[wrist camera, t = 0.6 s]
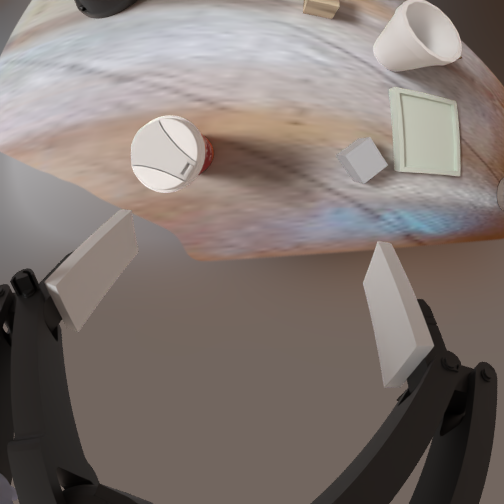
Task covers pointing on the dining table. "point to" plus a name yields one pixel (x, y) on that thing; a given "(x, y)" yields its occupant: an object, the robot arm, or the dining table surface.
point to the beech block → (321, 8)
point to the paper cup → (169, 154)
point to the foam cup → (417, 38)
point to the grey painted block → (362, 160)
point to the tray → (424, 133)
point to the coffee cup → (501, 194)
